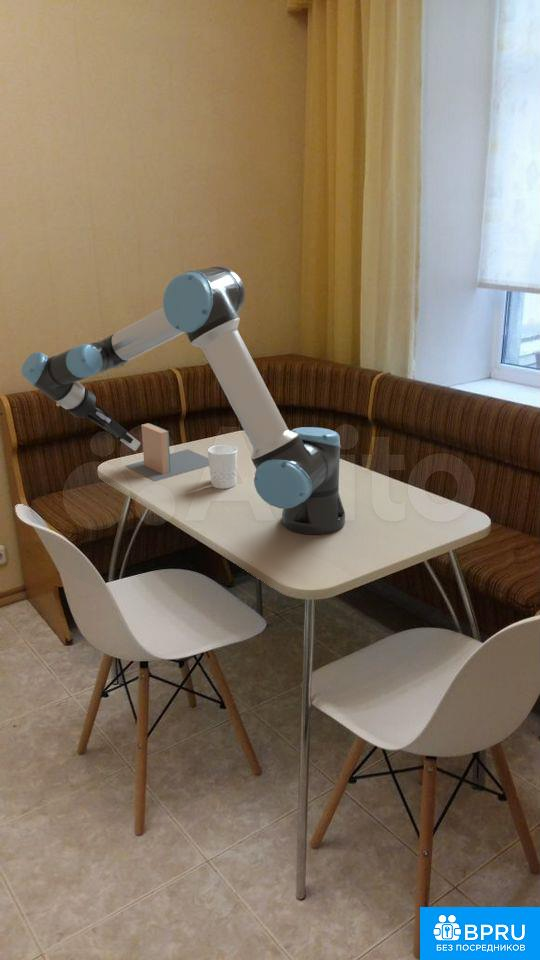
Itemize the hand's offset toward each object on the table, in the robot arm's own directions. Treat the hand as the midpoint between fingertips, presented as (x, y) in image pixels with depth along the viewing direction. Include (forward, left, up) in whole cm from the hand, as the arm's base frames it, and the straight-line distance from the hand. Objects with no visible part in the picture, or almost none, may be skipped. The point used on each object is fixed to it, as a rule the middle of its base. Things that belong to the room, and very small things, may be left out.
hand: (136, 446), depth 208 cm
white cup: (-15, -20, -9) cm, 27 cm away
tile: (+2, -6, -8) cm, 10 cm away
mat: (+4, -10, -9) cm, 14 cm away
